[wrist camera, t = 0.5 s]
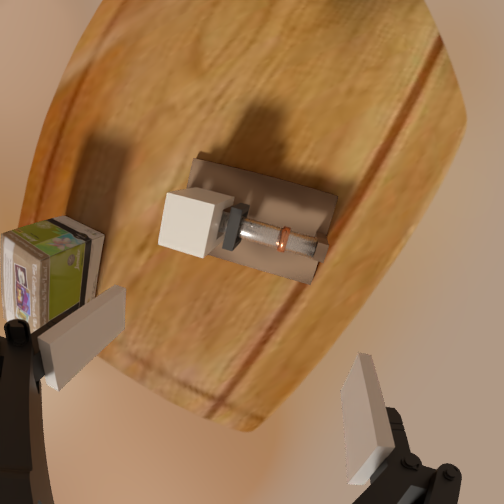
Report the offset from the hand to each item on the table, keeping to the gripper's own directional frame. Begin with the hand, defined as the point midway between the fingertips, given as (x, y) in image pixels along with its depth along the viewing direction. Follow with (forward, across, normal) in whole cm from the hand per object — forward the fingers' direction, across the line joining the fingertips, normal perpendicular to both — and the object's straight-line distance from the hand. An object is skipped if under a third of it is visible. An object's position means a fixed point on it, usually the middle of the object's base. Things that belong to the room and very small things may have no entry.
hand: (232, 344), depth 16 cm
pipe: (+22, -4, +2) cm, 22 cm away
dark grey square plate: (+22, -5, +2) cm, 23 cm away
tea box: (+26, -32, -12) cm, 43 cm away
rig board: (+26, -4, +2) cm, 26 cm away
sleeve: (+23, -9, +2) cm, 25 cm away
